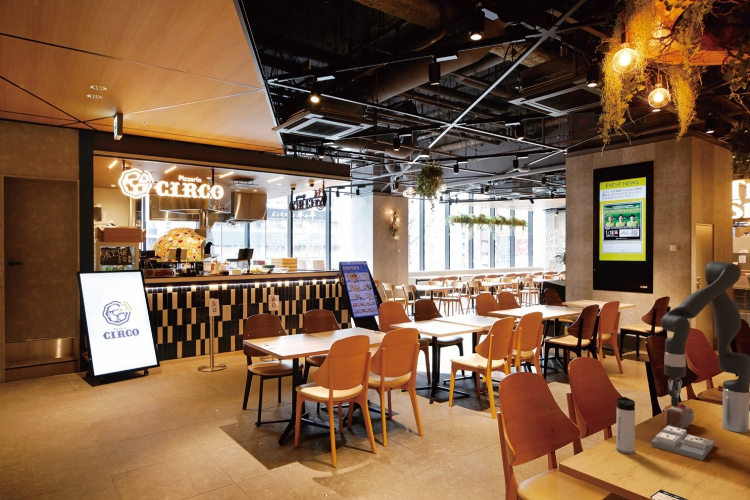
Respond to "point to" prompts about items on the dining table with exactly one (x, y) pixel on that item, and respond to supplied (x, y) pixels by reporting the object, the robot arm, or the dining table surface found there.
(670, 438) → the button one
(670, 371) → the robot arm
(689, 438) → the button three
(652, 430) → the dining table surface
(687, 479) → the dining table surface
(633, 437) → the travel mug
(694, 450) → the button board
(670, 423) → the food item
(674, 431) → the button two
